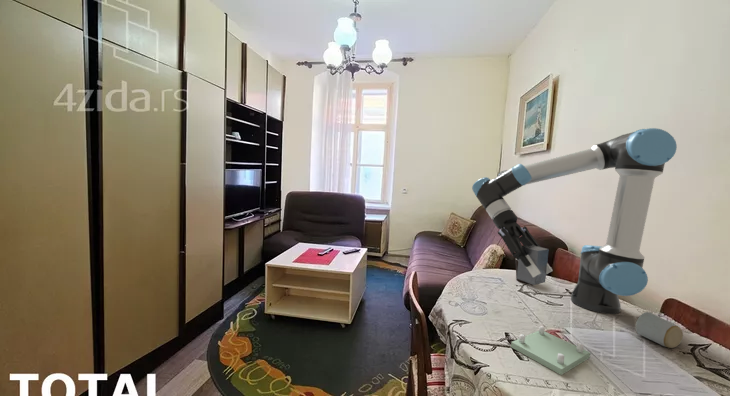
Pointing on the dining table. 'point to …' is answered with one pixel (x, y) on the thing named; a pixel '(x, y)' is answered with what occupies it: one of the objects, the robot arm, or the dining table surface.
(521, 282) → the coffee mug
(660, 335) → the grey cylinder
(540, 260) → the block
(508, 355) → the dining table surface
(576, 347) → the pin plate
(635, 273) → the robot arm
